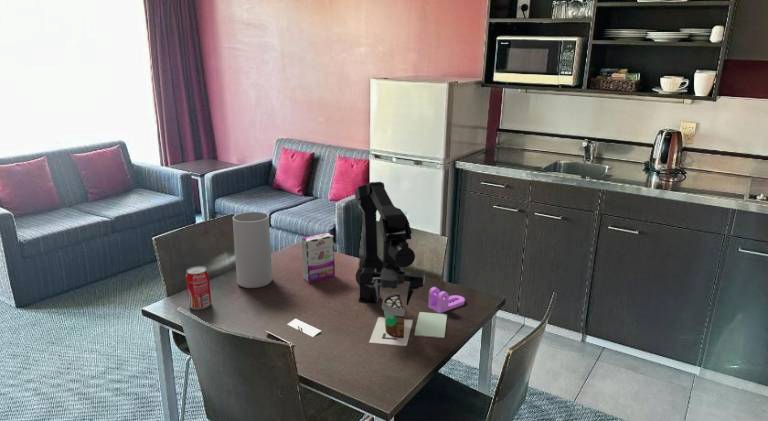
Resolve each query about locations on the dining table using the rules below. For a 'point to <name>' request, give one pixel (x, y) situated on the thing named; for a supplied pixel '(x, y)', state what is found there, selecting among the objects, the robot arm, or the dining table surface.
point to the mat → (431, 325)
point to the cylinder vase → (252, 249)
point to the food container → (394, 315)
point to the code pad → (383, 338)
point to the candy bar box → (318, 257)
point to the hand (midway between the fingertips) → (392, 303)
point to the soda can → (198, 287)
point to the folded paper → (301, 328)
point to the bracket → (443, 300)
